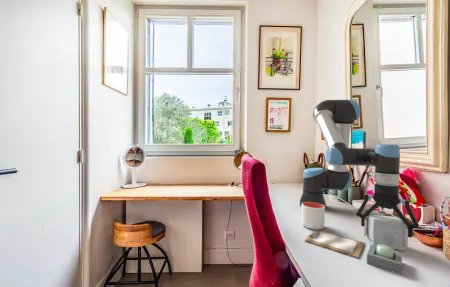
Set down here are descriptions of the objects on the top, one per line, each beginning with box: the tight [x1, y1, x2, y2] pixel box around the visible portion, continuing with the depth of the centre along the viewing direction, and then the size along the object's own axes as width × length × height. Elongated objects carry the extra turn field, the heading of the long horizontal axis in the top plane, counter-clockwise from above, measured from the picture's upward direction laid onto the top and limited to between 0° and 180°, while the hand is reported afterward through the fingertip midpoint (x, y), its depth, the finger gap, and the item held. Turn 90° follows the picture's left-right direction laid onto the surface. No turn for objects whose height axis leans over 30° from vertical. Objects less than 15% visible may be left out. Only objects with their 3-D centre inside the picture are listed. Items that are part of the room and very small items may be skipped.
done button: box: [376, 245, 394, 260], centre depth 70 cm, size 4×4×3 cm
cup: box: [300, 202, 326, 230], centre depth 99 cm, size 10×10×10 cm
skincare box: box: [366, 214, 406, 251], centre depth 82 cm, size 10×6×10 cm, turn 76°
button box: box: [366, 244, 403, 275], centre depth 70 cm, size 9×9×3 cm
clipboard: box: [304, 229, 365, 259], centre depth 83 cm, size 18×14×1 cm
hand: (384, 239), depth 82 cm, fingers closed on skincare box, 12 cm apart
